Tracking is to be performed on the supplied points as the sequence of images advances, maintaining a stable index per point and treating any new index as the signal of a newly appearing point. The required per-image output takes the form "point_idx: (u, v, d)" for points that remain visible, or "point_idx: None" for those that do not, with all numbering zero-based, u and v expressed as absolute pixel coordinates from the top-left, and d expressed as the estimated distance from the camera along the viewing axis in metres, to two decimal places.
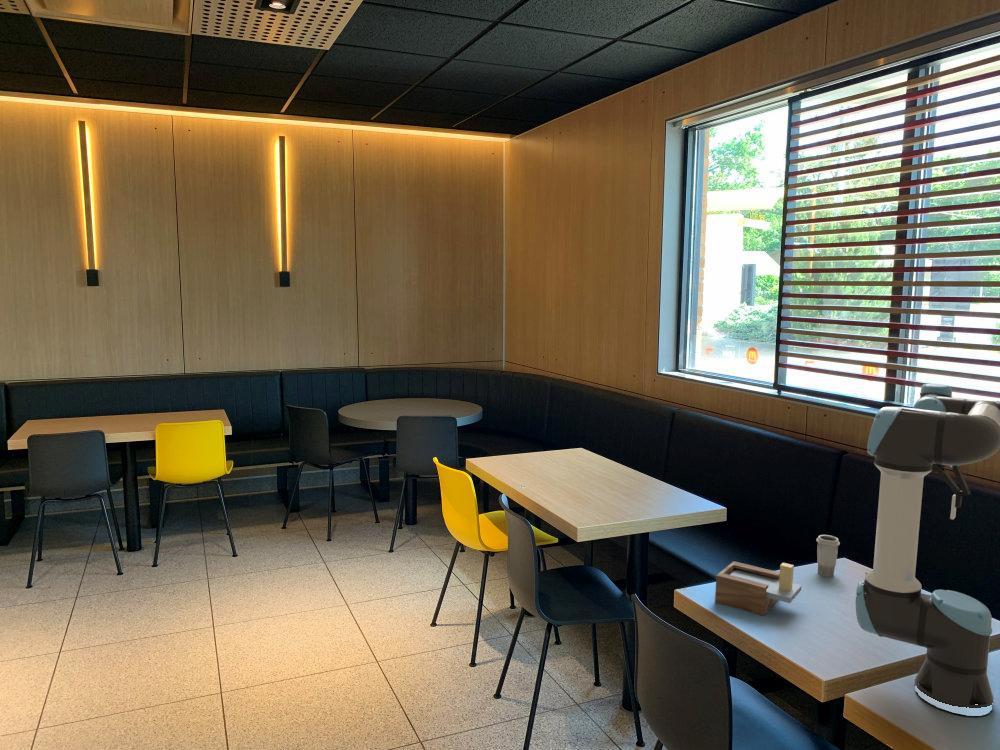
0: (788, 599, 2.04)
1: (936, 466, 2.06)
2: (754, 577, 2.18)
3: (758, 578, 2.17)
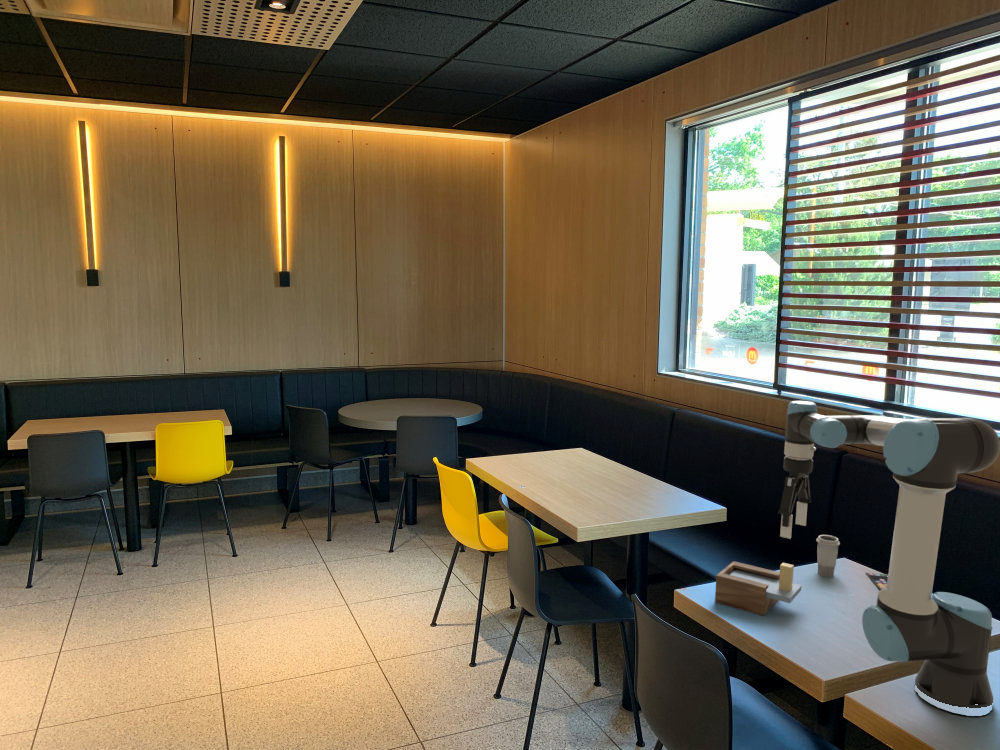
0: (788, 599, 2.04)
1: None
2: (754, 577, 2.18)
3: (758, 578, 2.17)
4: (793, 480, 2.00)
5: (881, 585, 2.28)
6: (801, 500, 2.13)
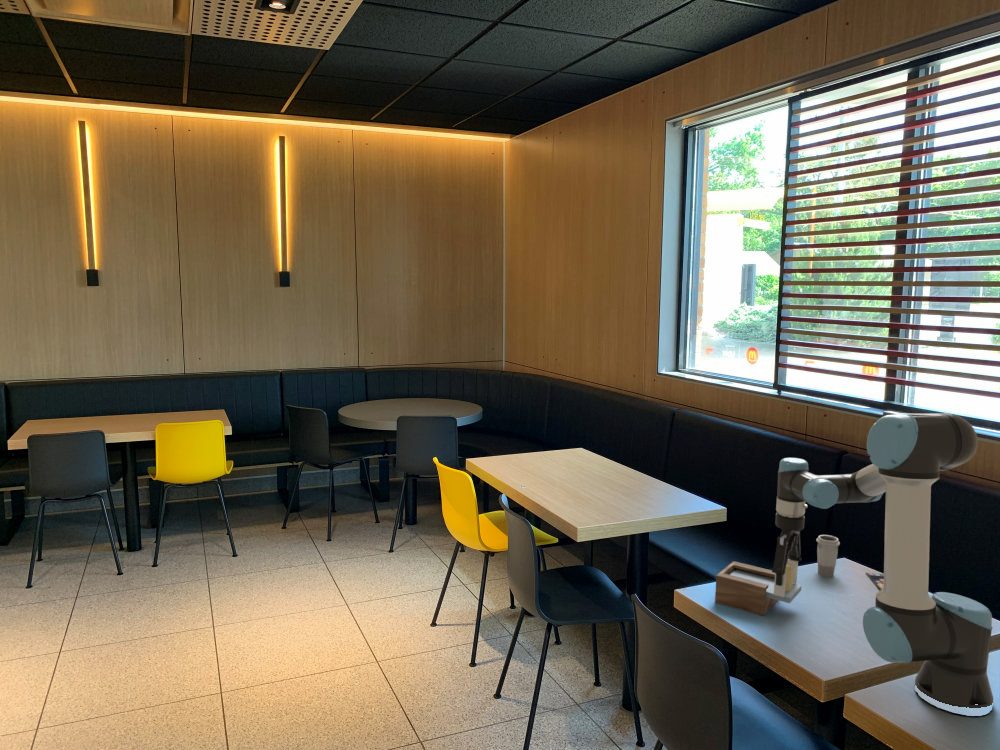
0: (788, 599, 2.04)
1: None
2: (754, 577, 2.18)
3: (758, 578, 2.17)
4: (785, 539, 2.02)
5: (881, 585, 2.28)
6: (792, 558, 2.14)
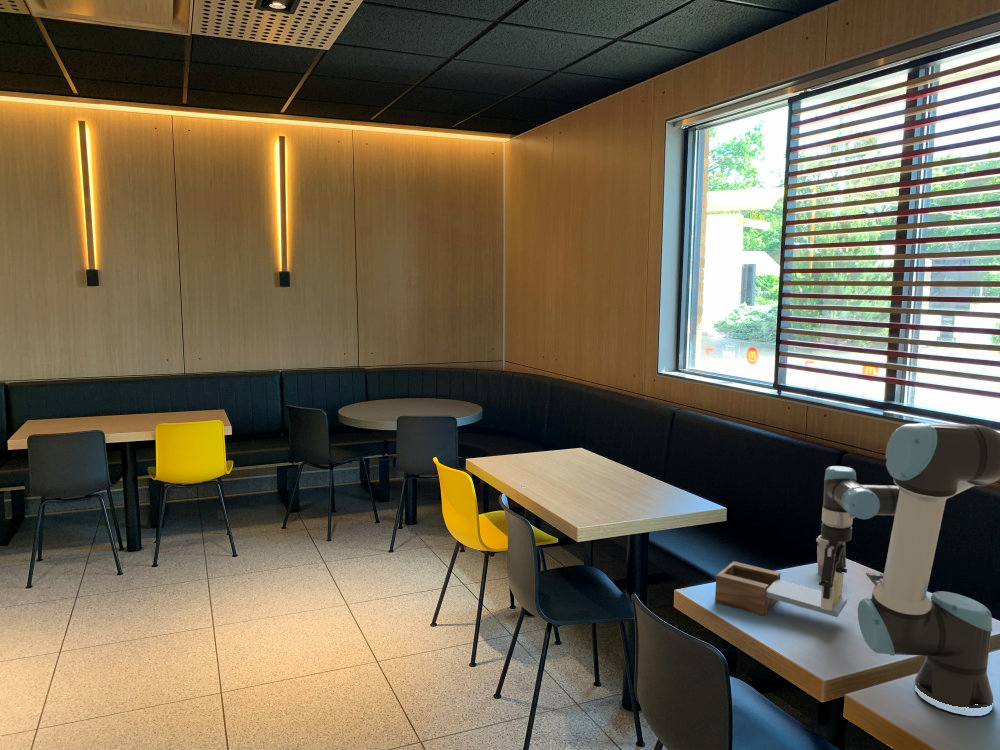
0: (835, 613, 1.97)
1: None
2: (796, 588, 2.10)
3: (801, 589, 2.10)
4: (833, 551, 1.95)
5: None
6: (837, 570, 2.07)
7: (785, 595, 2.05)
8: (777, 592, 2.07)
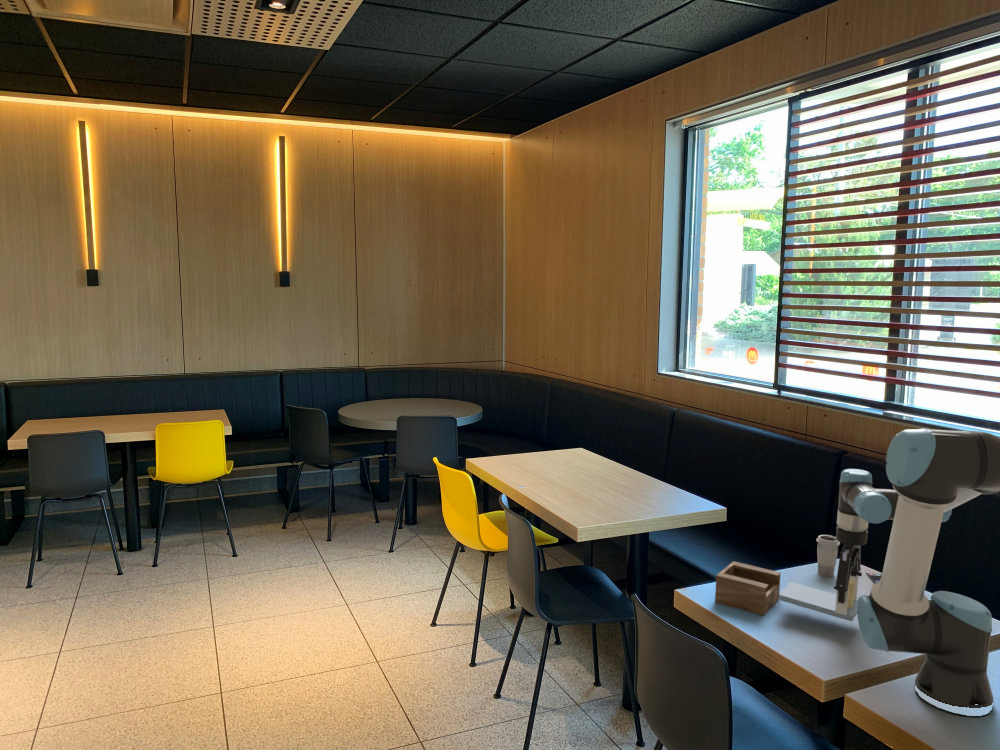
0: (850, 617, 1.95)
1: None
2: (810, 592, 2.08)
3: (815, 592, 2.08)
4: (848, 555, 1.93)
5: None
6: (851, 573, 2.05)
7: (799, 599, 2.03)
8: (790, 595, 2.05)
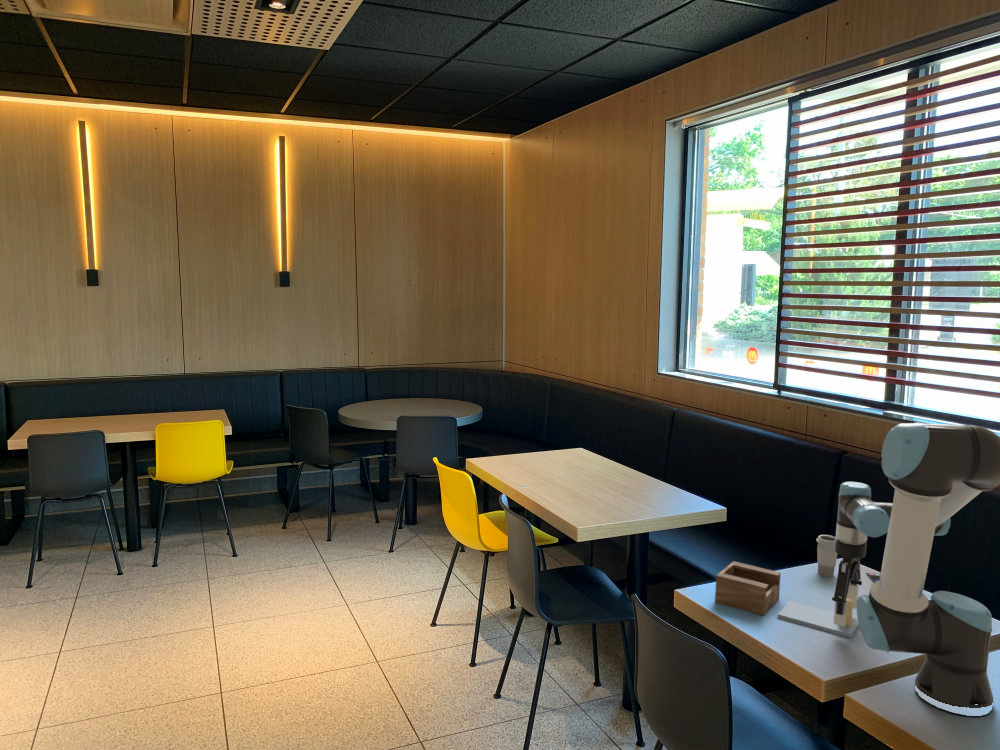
0: (849, 635, 1.95)
1: None
2: (809, 611, 2.09)
3: (814, 611, 2.08)
4: (847, 566, 1.93)
5: None
6: (851, 582, 2.06)
7: (797, 618, 2.04)
8: (789, 615, 2.06)
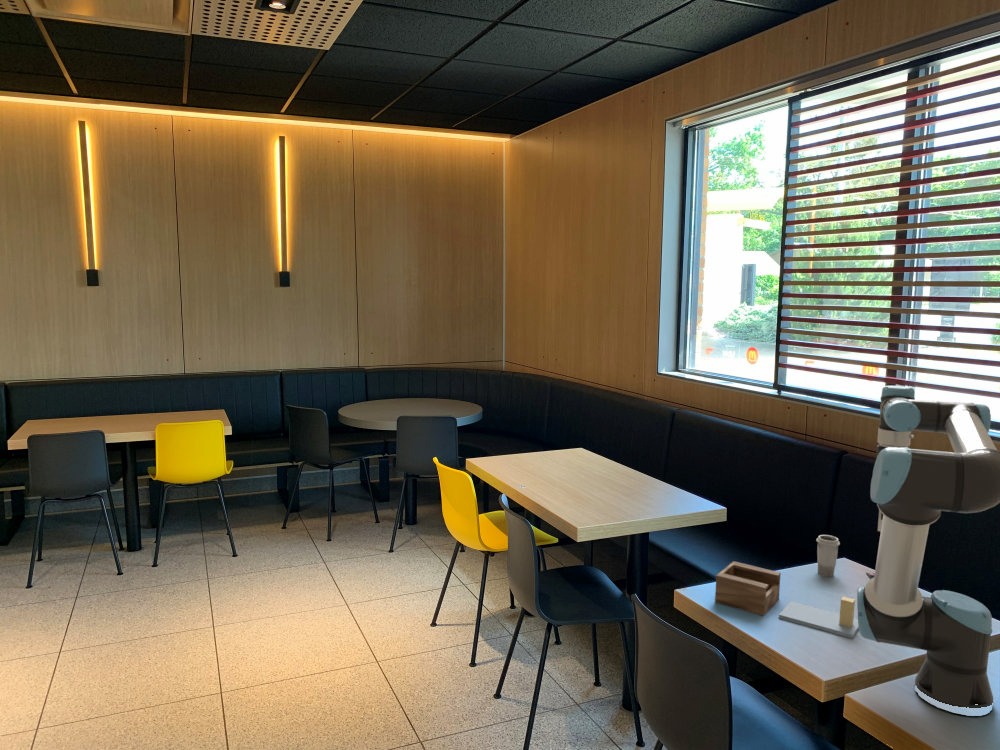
0: (851, 636, 1.95)
1: None
2: (811, 611, 2.08)
3: (816, 612, 2.08)
4: None
5: None
6: None
7: (799, 619, 2.04)
8: (791, 615, 2.06)
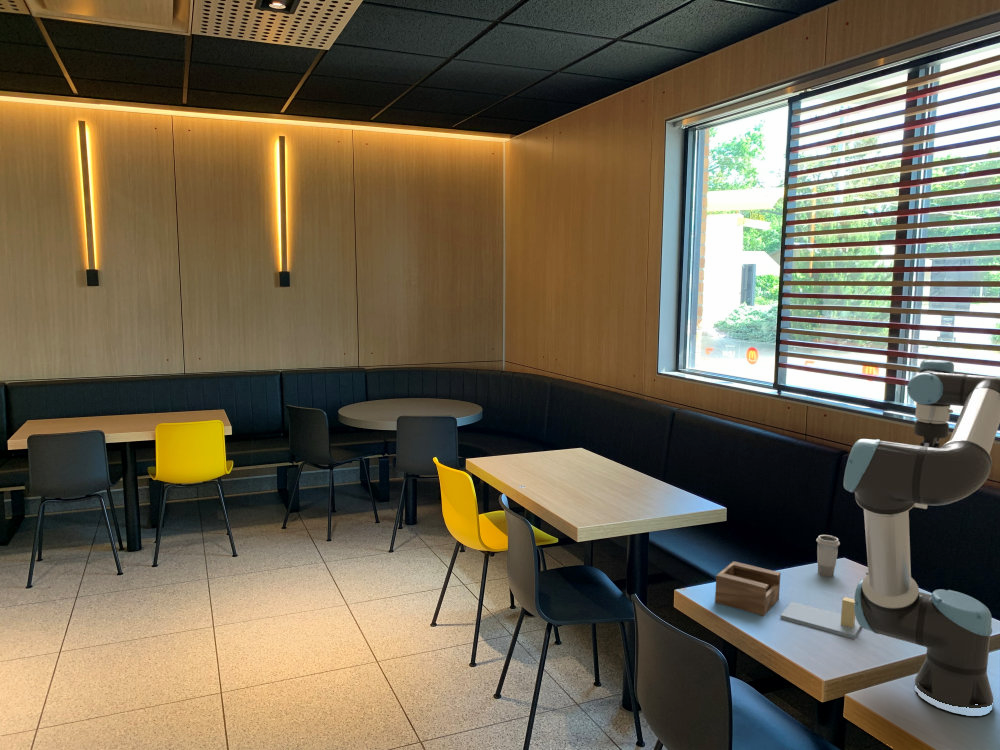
0: (852, 636, 1.95)
1: None
2: (812, 611, 2.08)
3: (817, 612, 2.08)
4: (930, 445, 1.84)
5: None
6: None
7: (800, 619, 2.03)
8: (792, 616, 2.05)
